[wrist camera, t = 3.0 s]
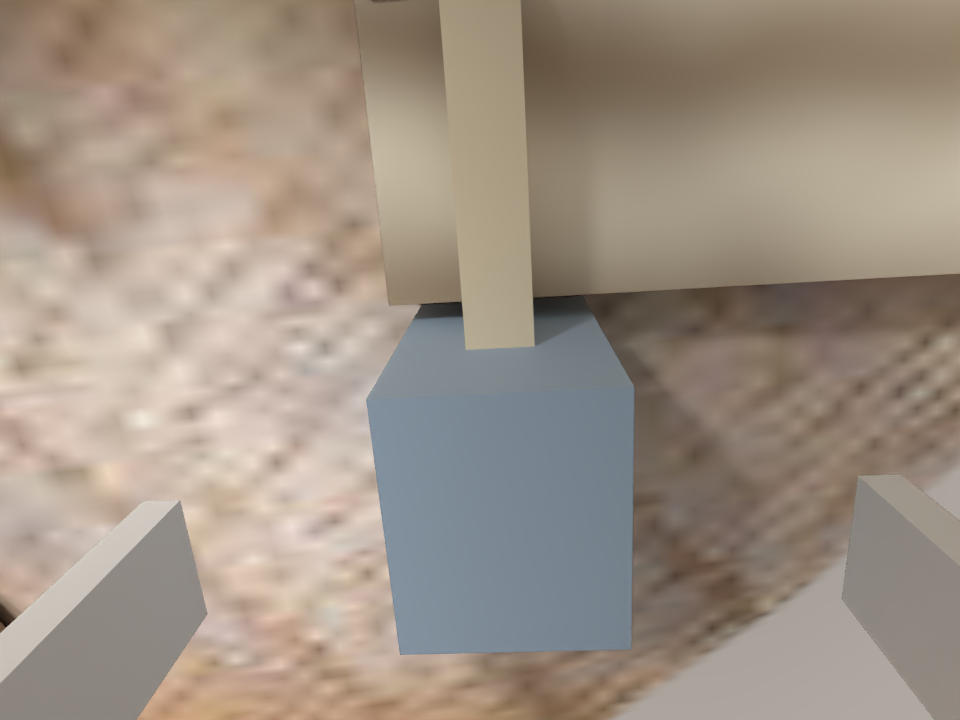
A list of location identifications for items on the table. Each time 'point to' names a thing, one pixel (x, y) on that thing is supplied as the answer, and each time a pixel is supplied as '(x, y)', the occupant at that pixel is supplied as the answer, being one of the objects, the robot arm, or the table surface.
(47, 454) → the table surface
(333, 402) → the table surface
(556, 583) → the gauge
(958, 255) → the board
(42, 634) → the robot arm
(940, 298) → the table surface
